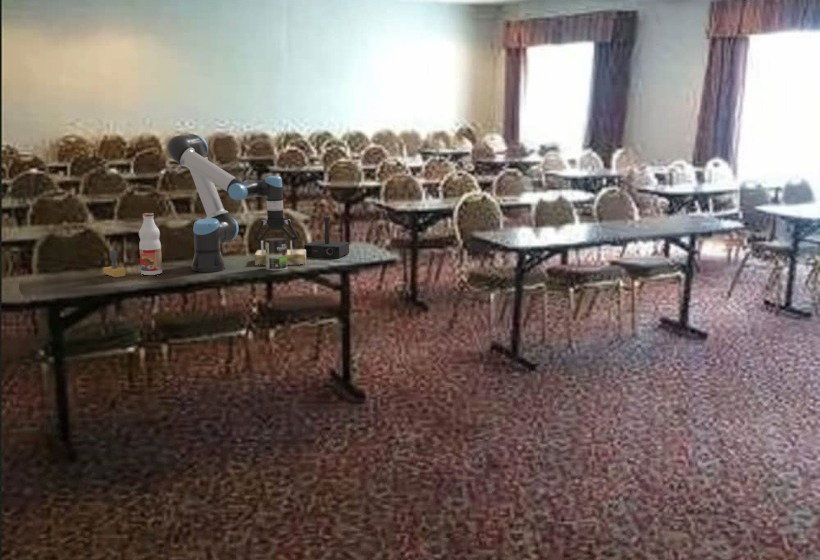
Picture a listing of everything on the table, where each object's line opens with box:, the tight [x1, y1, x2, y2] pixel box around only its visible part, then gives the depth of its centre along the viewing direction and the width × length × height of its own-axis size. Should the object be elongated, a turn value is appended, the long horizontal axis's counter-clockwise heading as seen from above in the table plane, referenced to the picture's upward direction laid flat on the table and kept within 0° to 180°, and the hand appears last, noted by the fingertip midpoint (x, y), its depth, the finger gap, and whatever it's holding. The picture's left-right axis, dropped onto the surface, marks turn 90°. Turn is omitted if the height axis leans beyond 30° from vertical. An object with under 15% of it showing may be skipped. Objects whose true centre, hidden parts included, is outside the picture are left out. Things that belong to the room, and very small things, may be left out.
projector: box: [303, 216, 350, 259], centre depth 446 cm, size 19×17×20 cm
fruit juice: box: [138, 212, 163, 275], centre depth 397 cm, size 9×9×28 cm
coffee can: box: [264, 237, 289, 271], centre depth 412 cm, size 10×10×14 cm
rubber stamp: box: [103, 249, 127, 276], centre depth 395 cm, size 10×6×12 cm, turn 46°
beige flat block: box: [254, 248, 307, 266], centre depth 429 cm, size 24×14×5 cm, turn 95°
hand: (277, 254), depth 412 cm, fingers open, 13 cm apart
